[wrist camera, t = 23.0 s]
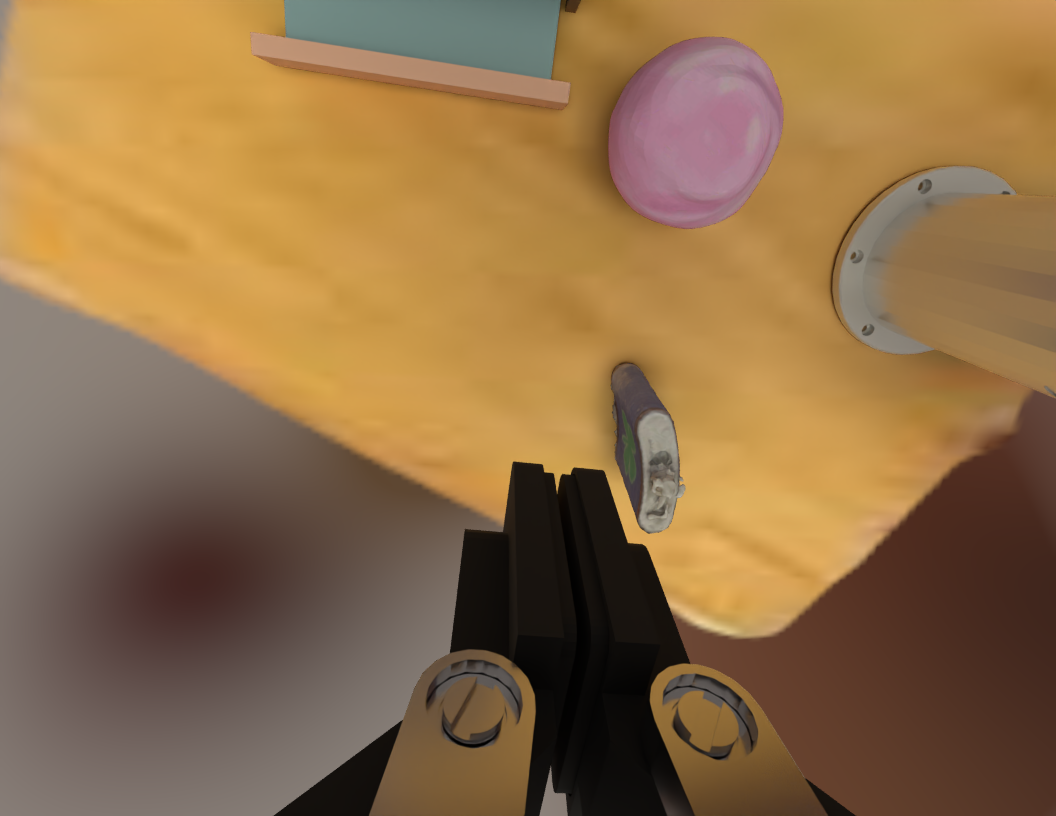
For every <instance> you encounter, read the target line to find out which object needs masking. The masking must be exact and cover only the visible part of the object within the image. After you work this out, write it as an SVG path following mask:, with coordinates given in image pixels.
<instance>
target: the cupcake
mask: <svg viewBox="0 0 1056 816" xmlns="http://www.w3.org/2000/svg"><path fill="white" fill-rule="evenodd" d="M782 126H783V105H782V100H781V96H780V93H779V90H778V87H777V85H776V83H775V80H774V77H773V75H772V73H771V70H770V69H769V67H768V66H767V64H766V63H765V62H764V61H763V60H762V58H761V57H760V56H759V55H758V54H757V53H756V52H755V51H753V50H752V49H751V48H749V47H747V46H746V45H744V44H742V43H740V42H738V41H736V40H733V39H730V38H724V37H702V38H694V39H689V40H685V41H682V42H679V43H676V44H674V45H672V46H670V47H668V48H667V49H665V50H664V51H662V52H661V53H659V54H658V55H657V56H655V57H654V58H652V59H651V60H650V61H648V62H647V63H646V64H645V65H644V66H642V67H641V68H640V69H639V70H638V71H637V72H636V73H635V74H634V76H633V77H632V78H631V79H630V81H629V82H628V83H627V85H626V86H625V88H624V90H623V91H622V94H621V96H620V98H619V100H618V102H617V104H616V106H615V108H614V110H613V112H612V116H611V120H610V126H609V140H608V154H609V167H610V172H611V176H612V179H613V181H614V184H615V186H616V187H617V189H618V191H619V193H620V194H621V196H622V197H623V199H624V200H625V201H626V203H627V204H628V205H629V206H630V207H631V208H632V209H633V210H635V211H636V212H638V213H639V214H641V215H642V216H644V217H646V218H648V219H650V220H653V221H656V222H658V223H661V224H665V225H668V226H672V227H676V228H683V229H693V228H700V227H704V226H708V225H711V224H716V223H718V222H720V221H722V220H724V219H726V218H728V217H730V216H731V215H733V214H734V213H736V212H737V211H738V210H739V209H740V208H741V207H742V206H743V205H744V203H745V202H746V201H747V200H748V198H749V197H750V195H751V194H752V192H753V191H754V189H755V188H756V186H757V185H758V183H759V181H760V180H761V179H762V177H763V176H764V174H765V172H766V171H767V169H768V167H769V165H770V162H771V160H772V158H773V155H774V153H775V150H776V148H777V147H778V144H779V140H780V137H781V134H782Z"/></svg>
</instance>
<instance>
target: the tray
mask: <svg viewBox="0 0 1056 816" xmlns="http://www.w3.org/2000/svg"><path fill="white" fill-rule="evenodd" d="M560 2H561V0H284V4H285V28H286V37H280V36H273V35H267V34H261V33H254V32H250V33H251V48H252V55H254V56H257V57H259V58H261V59H263V60H265V61H267V62H269V63H272V64H274V65H276V66H282V67H288V68H295V69H301V70H308V71H314V72H321V73H327V74H334V75H340V76H347V77H353V78H360V79H366V80H373V81H379V82H385V83H392V84H398V85H405V86H411V87H418V88H424V89H431V90H437V91H444V92H450V93H457V94H463V95H470V96H476V97H483V98H489V99H495V100H502V101H508V102H515V103H521V104H528V105H534V106H541V107H547V108H554V109H560V110H563V109H564V107H565V106H566V105H567V104H568V99H569V92H570V84H571V83H569V82H562V81H556V80H551V73H552V65H553V57H554V49H555V42H556V34H557V26H558V18H559V10H560Z"/></svg>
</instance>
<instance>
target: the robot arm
mask: <svg viewBox="0 0 1056 816" xmlns="http://www.w3.org/2000/svg"><path fill="white" fill-rule="evenodd" d="M851 255H852V256H851ZM832 293H833V299H834V304H835V309H836V311H837V313H838V316H839V318H840V321H841V322H842V324H843V325H844V326H845V328H846V329H847V330H848V332H849V333H850V334H851V335H853V336H854V337H855V338H856V339H858V340H859V341H860V342H862V343H864V344H866V345H868V346H870V347H872V348H874V349H877V350H880V351H882V352H885V353H891V354H899V355H908V354H920V353H924V352H928V351H932V350H939V351H941V352H943V353H946V354H948V355H951V356H953V357H956V358H958V359H960V360H963V361H965V362H968V363H970V364H973V365H975V366H978V367H980V368H982V369H985V370H987V371H990V372H992V373H995V374H997V375H999V376H1002V377H1004V378H1007V379H1009V380H1012V381H1014V382H1017V383H1019V384H1021V385H1024V386H1026V387H1029V388H1031V389H1034V390H1036V391H1038V392H1041V393H1043V394H1046V395H1048V396H1051V397H1053V398H1056V197H1054V196H1030V195H1017V193H1016V191H1015V190H1014V189H1013V188H1012V187H1011V186H1010V185H1009V184H1008V183H1007V182H1006V181H1005V180H1004V179H1003V178H1001V177H999V176H998V175H996V174H994V173H993V172H991V171H988V170H984V169H981V168H977V167H970V166H948V167H936V168H933V169H929V170H925V171H921V172H918V173H916V174H914V175H911V176H909V177H907V178H905V179H903V180H901V181H899V182H898V183H896V184H895V185H893V186H892V187H890V188H889V189H887V190H886V191H884V192H883V193H882V194H880V195H879V196H878V197H877V198H876V199H875V200H874V201H873V202H872V203H871V204H870V205H868V206H867V208H866V209H865V210H864V211H863V212H862V214H861V215H860V216H859V217H858V219H857V220H856V221H855V222H854V224H853V225H852V227H851V229H850V231H849V232H848V234H847V236H846V237H845V239H844V241H843V243H842V246H841V248H840V251H839V253H838V256H837V259H836V264H835V268H834V273H833V289H832ZM550 766H551V771H552V783H553V789H554V792H555V793H566V801H567V812H568V816H855V815H854V814H853V813H851V812H850V811H849V810H847V809H846V808H845V807H843V806H842V805H841V804H839V803H838V802H837V801H835V800H834V799H833V798H831V797H830V796H829V795H827V794H826V793H824V792H823V791H822V790H821V789H819V788H818V787H817V786H815V785H814V784H813V783H811V782H810V781H808V780H807V779H805V778H804V776H803V775H802V773H801V771H800V770H799V768H798V767H797V765H796V764H795V762H794V760H793V759H792V757H791V755H790V754H789V752H788V751H787V749H786V747H785V746H784V744H783V743H782V741H781V739H780V738H779V736H778V735H777V733H776V731H775V730H774V728H773V726H772V725H771V723H770V722H769V720H768V718H767V717H766V715H765V714H764V712H763V710H762V709H761V708H760V706H759V705H758V704H757V703H756V701H755V700H754V699H753V697H752V696H751V695H750V694H749V693H748V692H747V691H746V690H745V689H744V688H742V687H741V686H740V685H739V684H738V683H737V682H735V681H734V680H733V679H731V678H729V677H727V676H726V675H724V674H722V673H720V672H719V671H717V670H714V669H711V668H708V667H705V666H702V665H695V664H690V662H689V659H688V656H687V653H686V651H685V648H684V645H683V643H682V640H681V638H680V635H679V632H678V629H677V627H676V624H675V621H674V619H673V616H672V613H671V611H670V608H669V605H668V602H667V600H666V597H665V594H664V592H663V589H662V586H661V584H660V581H659V578H658V576H657V573H656V570H655V568H654V565H653V562H652V560H651V557H650V554H649V552H648V550H647V548H646V546H644V545H643V544H633V543H628V542H627V539H626V536H625V533H624V530H623V527H622V524H621V521H620V518H619V515H618V512H617V508H616V505H615V502H614V499H613V496H612V493H611V490H610V487H609V484H608V481H607V478H606V475H605V472H604V471H603V470H595V469H584V468H573V470H572V472H571V475H566V474H562V475H561V478H560V482H559V487H558V493H557V491H556V484H555V478H554V474H553V473H545V472H544V468H543V465H542V464H533V463H523V462H513V465H512V470H511V477H510V485H509V492H508V499H507V507H506V514H505V521H504V529H503V532H492V531H481V530H468V529H465V533H464V541H463V549H462V558H461V566H460V574H459V582H458V590H457V600H456V608H455V615H454V624H453V632H452V640H451V649H450V654H448V655H446V656H444V657H442V658H440V659H439V660H436V661H435V662H434V663H433V664H432V665H431V666H430V667H429V668H427V669H426V670H425V671H424V672H423V674H422V675H421V677H420V679H419V681H418V683H417V684H416V686H415V688H414V691H413V693H412V696H411V699H410V702H409V705H408V708H407V710H406V713H405V716H404V719H403V720H402V721H400V722H399V723H398V724H396V725H395V726H394V727H392V728H391V729H390V730H388V731H387V732H386V733H384V734H383V735H382V736H380V737H379V738H378V739H376V740H375V741H373V742H372V743H371V744H369V745H368V746H367V747H365V748H364V749H363V750H361V751H360V752H359V753H357V754H356V755H355V756H353V757H352V758H351V759H349V760H348V761H346V762H345V763H344V764H342V765H341V766H340V767H339V768H337V769H336V770H334V771H333V772H332V773H330V774H329V775H328V776H326V777H325V778H324V779H322V780H321V781H320V782H318V783H317V784H316V785H314V786H313V787H311V788H310V789H309V790H308V791H306V792H305V793H303V794H302V795H301V796H299V797H298V798H297V799H295V800H294V801H293V802H291V803H290V804H289V805H287V806H286V807H285V808H283V809H282V810H281V811H279V812H278V813H277V814H275V815H274V816H539V815H540V810H541V806H542V801H543V797H544V792H545V788H546V784H547V779H548V775H549V770H550Z"/></svg>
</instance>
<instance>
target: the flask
mask: <svg viewBox="0 0 1056 816" xmlns="http://www.w3.org/2000/svg"><path fill="white" fill-rule="evenodd" d="M611 390H613V393H614V405H613V412H612V413H613V418H614V420H615V422H616V424H617V430H616V431H614V432H615V434H616V436H617V442H616V444H615V460H616V461H617V464H618V466H619V469H620V472H621V475H622V477H623V481H624V484H625V487H626V489H627V492H628V495H629V498H630V501H631V504H632V507H633V510H634V512H635V516H636V519H637V522H638V524H639V526H640V528H641V529H642V530H644V531H645V532H647V533H648V534H650V533H656V532H658V533H659V532H661V531H663V530H665V529H666V528H668V527H669V525H670V524H671V522H672V519H673V515H674V510H675V506H676V501H677V498H680V497H682V495H683V494H684V491H685V485H684V484H682V485H681V486H679V480H680V481H683V479H682V477H680V474H679V473H680V463H679V462H680V459H679V453H678V443H677V436H676V431H675V427H674V421H673V420H672V418H671V416H670V414H669V413H668V411H667V410H666V408H665V407H664V405H663V404H662V403H661V401H660V400H659V398H658V397H657V395H656V393H655V392H654V390H653V389H652V388H651V386H650V384H649V382H648V380H647V379H646V377H645V376H644V374H643V372H642V371H641V370H640V369H639V368H638V367H637V366H636V365H634V364H630V363H624V364H621V365H618V366H616V368H615V370H614V371H613V373H612V382H611Z"/></svg>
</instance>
